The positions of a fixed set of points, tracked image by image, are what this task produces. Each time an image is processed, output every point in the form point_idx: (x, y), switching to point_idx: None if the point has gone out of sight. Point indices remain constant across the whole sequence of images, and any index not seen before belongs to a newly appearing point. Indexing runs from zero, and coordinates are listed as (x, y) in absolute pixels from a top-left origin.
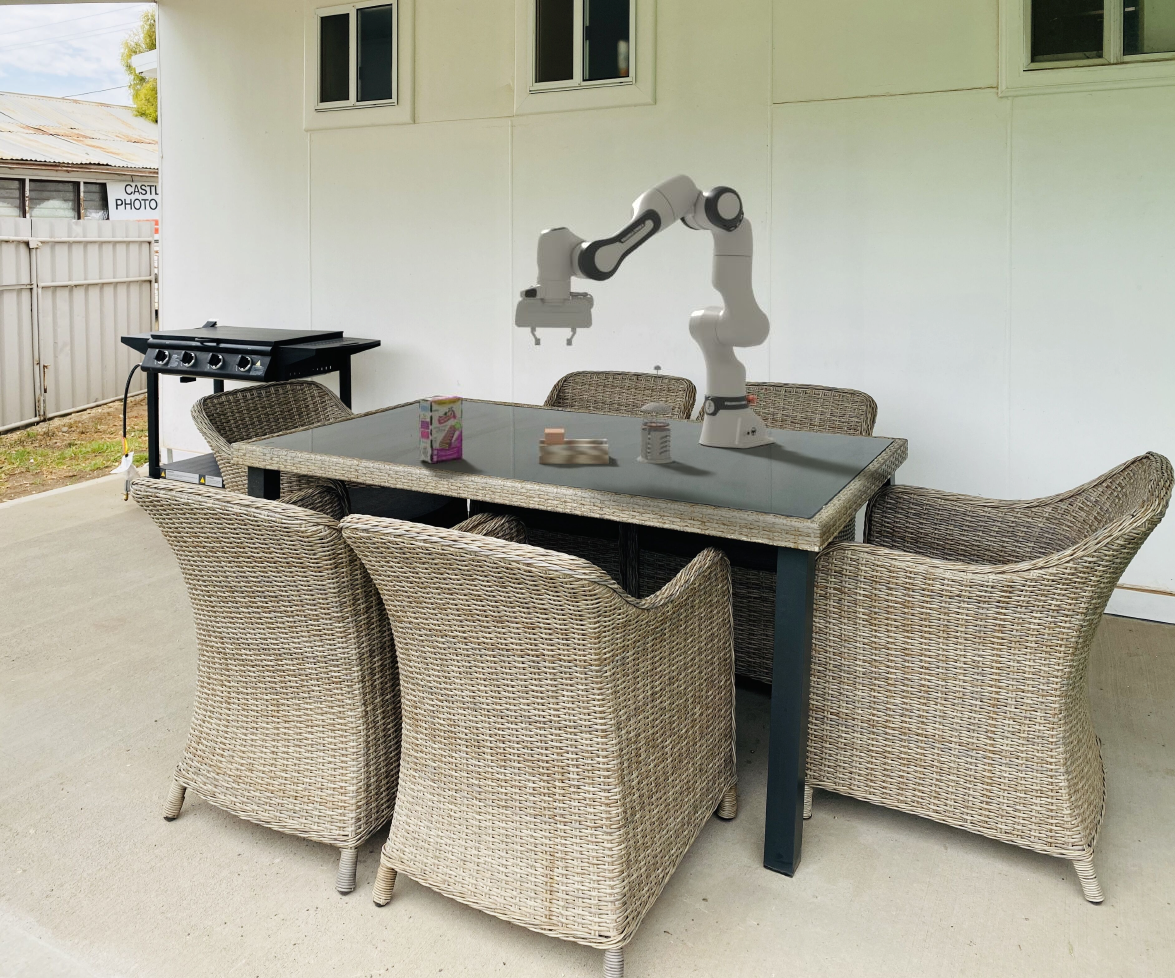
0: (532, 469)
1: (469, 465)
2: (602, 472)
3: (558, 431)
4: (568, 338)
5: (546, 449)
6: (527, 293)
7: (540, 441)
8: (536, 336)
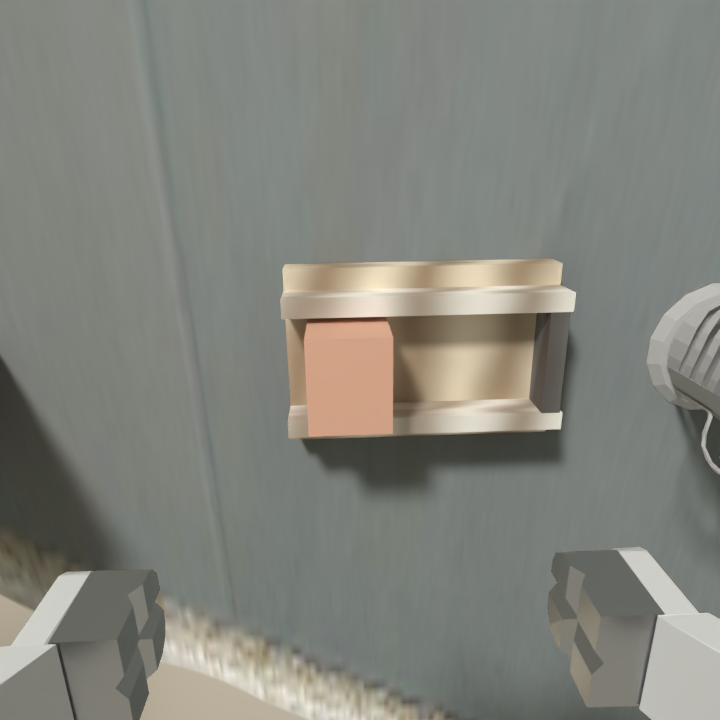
0: (278, 513)
1: (56, 464)
2: (496, 543)
3: (367, 409)
4: (637, 617)
5: None
6: None
7: (286, 317)
8: (24, 668)
